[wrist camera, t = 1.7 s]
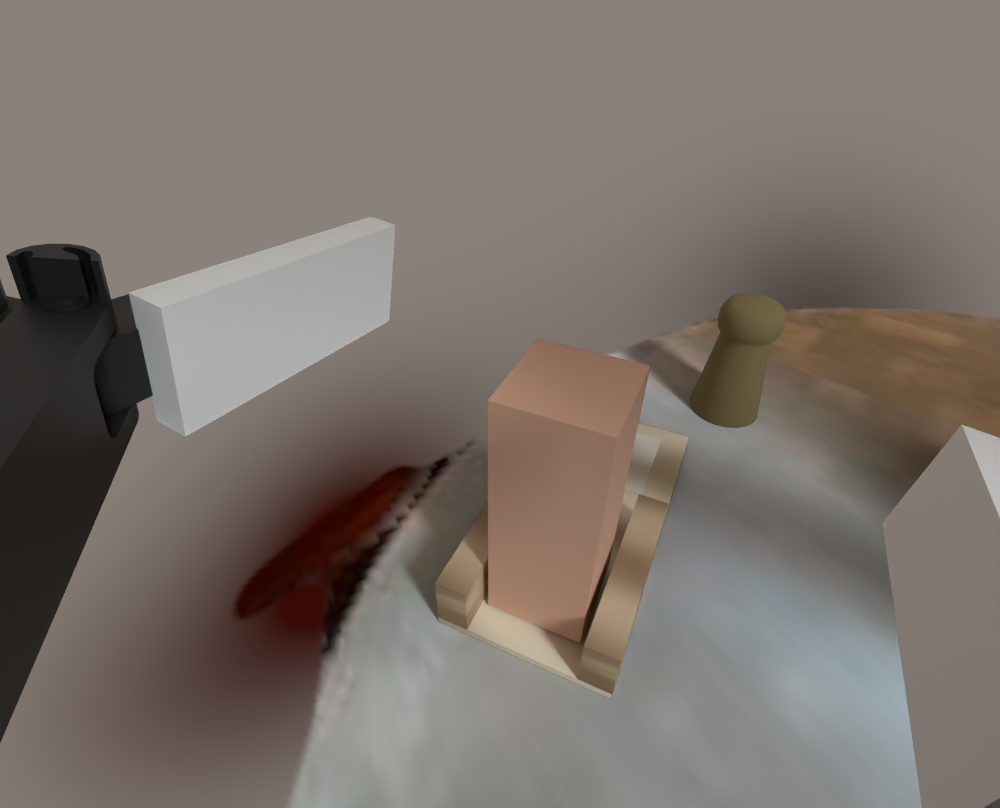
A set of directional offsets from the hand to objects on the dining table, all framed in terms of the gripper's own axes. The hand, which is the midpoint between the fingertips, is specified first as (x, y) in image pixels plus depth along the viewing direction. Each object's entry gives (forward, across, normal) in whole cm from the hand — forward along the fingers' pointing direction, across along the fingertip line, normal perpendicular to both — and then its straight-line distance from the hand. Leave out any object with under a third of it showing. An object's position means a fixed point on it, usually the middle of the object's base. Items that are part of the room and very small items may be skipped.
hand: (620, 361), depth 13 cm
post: (+12, -1, -24) cm, 27 cm away
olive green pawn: (+38, +6, -20) cm, 43 cm away
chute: (+19, -1, -23) cm, 30 cm away
